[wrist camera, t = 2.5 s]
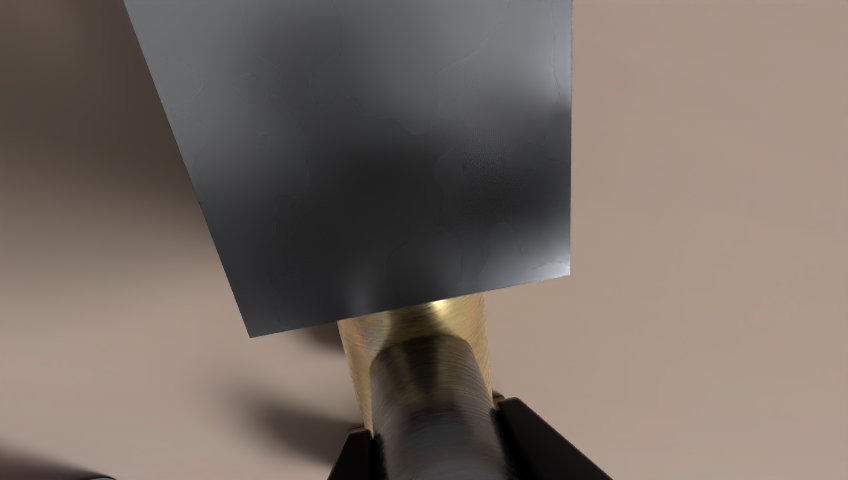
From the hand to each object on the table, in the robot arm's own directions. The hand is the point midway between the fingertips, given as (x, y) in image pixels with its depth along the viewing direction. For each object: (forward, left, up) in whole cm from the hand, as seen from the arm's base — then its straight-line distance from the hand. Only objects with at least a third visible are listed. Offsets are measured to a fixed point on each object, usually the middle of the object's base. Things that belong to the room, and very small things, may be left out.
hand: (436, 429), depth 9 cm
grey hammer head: (0, -6, -6) cm, 8 cm away
